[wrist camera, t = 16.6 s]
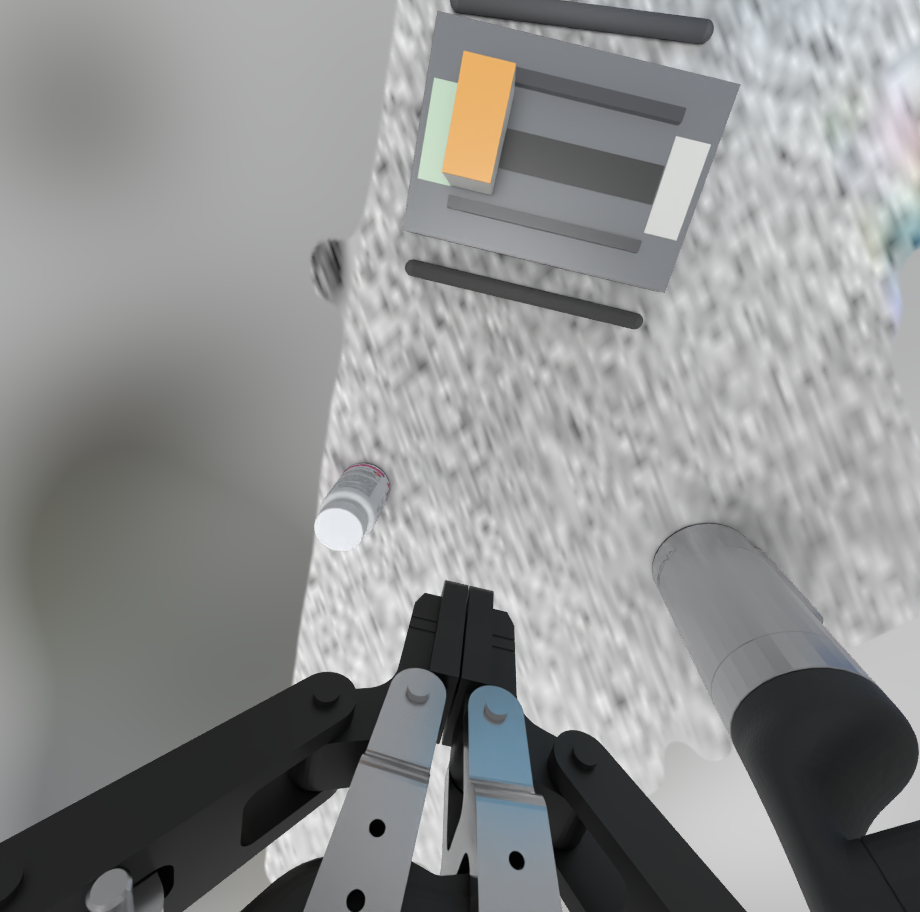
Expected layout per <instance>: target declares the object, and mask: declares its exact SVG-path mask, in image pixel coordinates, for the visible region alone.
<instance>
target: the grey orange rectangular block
mask: <svg viewBox="0 0 920 912" xmlns="http://www.w3.org/2000/svg"><path fill="white" fill-rule="evenodd" d="M515 73H516V63H513V62H509V61H505V60H501V59H497V58H492V57H488V56H484V55H480V54H476V53H472V52H468V51H464V52H463V57H462V63H461V68H460V74H459V80H458V85H457V91H456V96H455V102H454V107H453V113H452V118H451V124H450V129H449V135H448V141H447V146H446V152H445V157H444V163H443V168H442V173H443V174H444V176H445V177H446V179H447V181H448V182H449V184H450V185H451V186H455V187H459V188H463V189H468V190H472V191H476V192H480V193H484V194H488V195H492V193H493V189H494V184H495V179H496V175H497V170H498V166H499V161H500V157H501V152H502V147H503V143H504V138H505V134H506V129H507V125H508V120H509V115H510V111H511V106H512V102H513V97H514V88H515Z"/></svg>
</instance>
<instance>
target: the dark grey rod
mask: <svg viewBox="0 0 920 912" xmlns="http://www.w3.org/2000/svg"><path fill="white" fill-rule="evenodd" d="M405 270H406V272H407V274H408V275H410V276H414V277H418V278H422V279H426V280H430V281H434V282H439V283H443V284H447V285H451V286H455V287H460V288H464V289H468V290H472V291H476V292H480V293H485V294H489V295H493V296H497V297H501V298H505V299H510V300H514V301H518V302H522V303H526V304H530V305H535V306H539V307H543V308H547V309H551V310H555V311H560V312H564V313H568V314H572V315H576V316H580V317H585V318H589V319H593V320H597V321H601V322H606V323H610V324H614V325H618V326H622V327H626V328H631V329H637V328H639V327H640V326H641V325H642V323H643V318H642V316H641V315H640V314H637V313H633V312H629V311H625V310H620V309H616V308H612V307H608V306H604V305H600V304H595V303H591V302H587V301H583V300H579V299H575V298H570V297H566V296H562V295H558V294H554V293H550V292H545V291H541V290H537V289H533V288H529V287H525V286H520V285H516V284H512V283H508V282H504V281H500V280H495V279H491V278H487V277H483V276H479V275H475V274H470V273H466V272H462V271H458V270H454V269H450V268H445V267H441V266H437V265H433V264H429V263H425V262H420V261H416V260H410V261H408V262H407V263H406V265H405Z"/></svg>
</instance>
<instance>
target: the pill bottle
mask: <svg viewBox="0 0 920 912" xmlns="http://www.w3.org/2000/svg"><path fill="white" fill-rule="evenodd" d="M389 492H390V485H389V481H388V479H387V477H386V475H385V474H384V473H383V472H382V471H381V470H380V469H379V468H377V467H376V466H374V465H371V464H365V463H362V464H356V465H353V466H351V467H349V468H348V469H347V470H346V471H345V472H344V473H343V474H342V476H341V477H340V478H339V480H338V481H337V483H336V484H335V485H334V487H333V488H332V489H331V491H330V492H329V493H328V494H327V496H326V497H325V498H324V500H323V502H322V504H321V507H320V513H319V514H318V516H317V518H316V520H315V525H314V529H315V533H316V536H317V537H318V539H319V540H320V542H321V543H322V544H324V545H325V546H326V547H328V548H330V549H333V550H336V551H348V550H351V549H353V548H355V547H356V546H357V545H358V544H359V543H360V542H361V540H362V538H363V537H364V536H366V535H367V534H368V533H369V532H370V531H371V530H372V528H373V527H374V525H375V523H376V521H377V519H378V517H379V515H380V513H381V511H382V509H383V507H384V505H385V502H386V500H387V498H388V496H389Z"/></svg>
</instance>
